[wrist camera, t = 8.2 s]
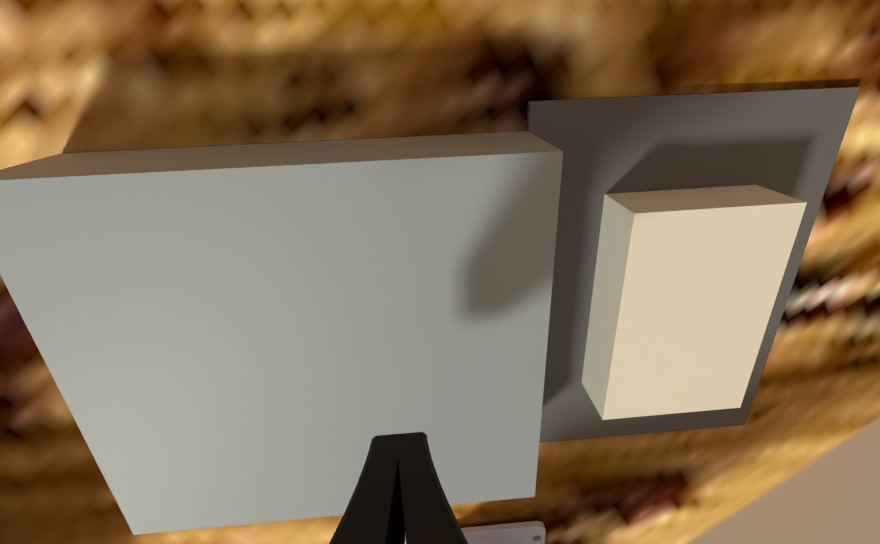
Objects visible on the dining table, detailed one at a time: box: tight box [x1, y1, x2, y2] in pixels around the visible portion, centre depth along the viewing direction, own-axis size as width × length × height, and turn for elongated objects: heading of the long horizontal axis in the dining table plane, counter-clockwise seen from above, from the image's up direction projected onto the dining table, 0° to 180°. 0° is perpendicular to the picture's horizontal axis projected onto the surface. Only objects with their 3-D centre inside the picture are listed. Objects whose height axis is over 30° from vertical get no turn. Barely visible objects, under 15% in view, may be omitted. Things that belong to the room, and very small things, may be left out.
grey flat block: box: [0, 131, 563, 535], centre depth 17 cm, size 14×16×4 cm
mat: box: [527, 87, 861, 443], centre depth 19 cm, size 16×12×1 cm
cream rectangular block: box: [582, 185, 807, 420], centre depth 18 cm, size 9×6×2 cm, turn 2°
